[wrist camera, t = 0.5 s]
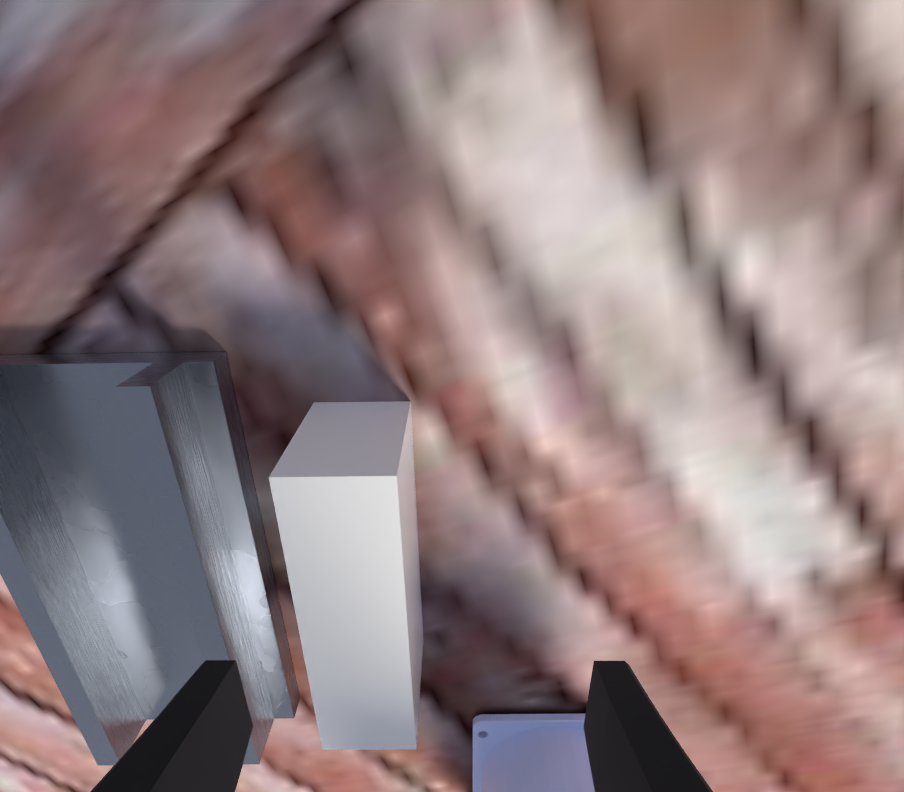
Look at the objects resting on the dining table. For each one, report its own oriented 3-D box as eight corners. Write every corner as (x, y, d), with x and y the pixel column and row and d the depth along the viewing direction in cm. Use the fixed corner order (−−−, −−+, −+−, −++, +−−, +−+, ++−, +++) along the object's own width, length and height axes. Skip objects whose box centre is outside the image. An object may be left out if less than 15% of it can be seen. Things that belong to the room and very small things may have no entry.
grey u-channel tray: (299, 698, 25) (280, 763, 22) (118, 699, 25) (76, 765, 22) (225, 351, 17) (182, 385, 14) (-34, 355, 17) (-126, 390, 14)
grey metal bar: (423, 634, 23) (416, 749, 18) (347, 635, 23) (322, 749, 19) (411, 399, 18) (396, 476, 14) (314, 400, 18) (268, 477, 14)
